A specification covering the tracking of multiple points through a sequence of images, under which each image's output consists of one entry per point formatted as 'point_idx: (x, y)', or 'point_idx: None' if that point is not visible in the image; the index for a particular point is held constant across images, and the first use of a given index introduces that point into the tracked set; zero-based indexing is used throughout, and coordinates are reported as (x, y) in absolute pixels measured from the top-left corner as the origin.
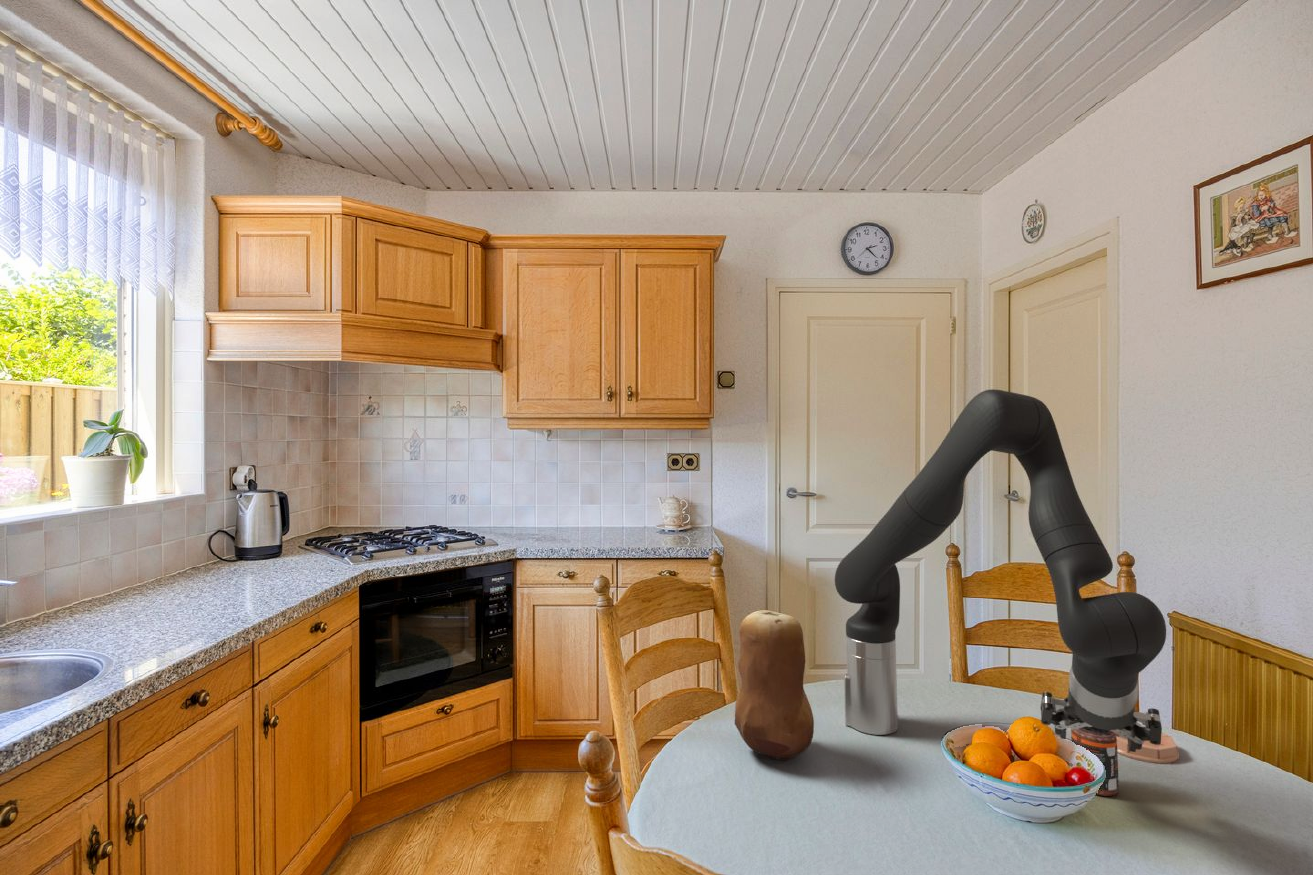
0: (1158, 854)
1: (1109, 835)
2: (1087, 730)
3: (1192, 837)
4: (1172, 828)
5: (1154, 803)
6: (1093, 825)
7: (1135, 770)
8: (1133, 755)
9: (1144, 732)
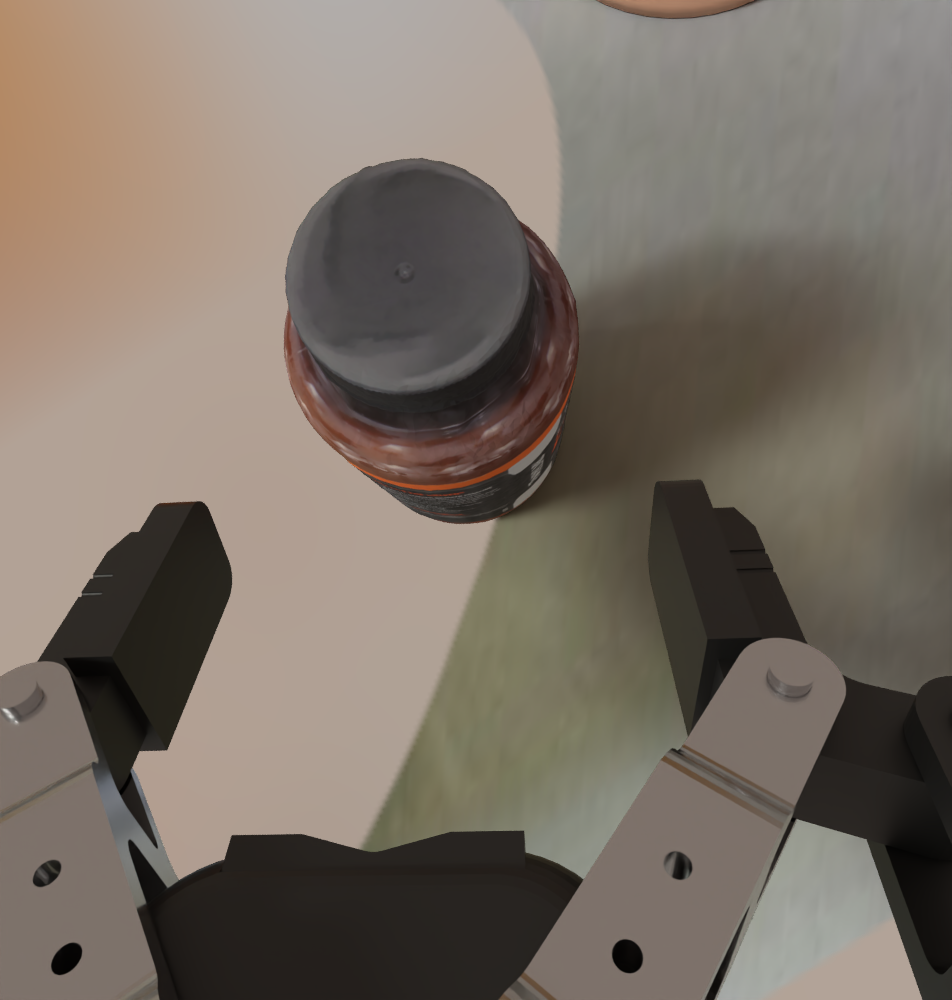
0: None
1: None
2: (375, 423)
3: None
4: None
5: (698, 455)
6: (435, 833)
7: (646, 143)
8: (650, 3)
9: (854, 806)
